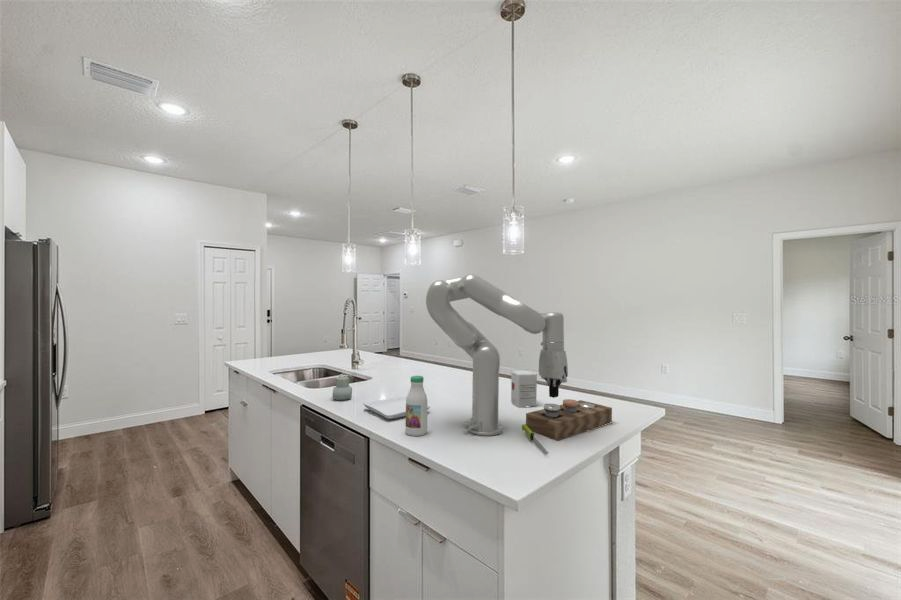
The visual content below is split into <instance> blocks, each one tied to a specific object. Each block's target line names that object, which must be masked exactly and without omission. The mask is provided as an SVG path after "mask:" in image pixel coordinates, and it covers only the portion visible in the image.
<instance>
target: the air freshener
mask: <svg viewBox="0 0 901 600" xmlns="http://www.w3.org/2000/svg"><path fill="white" fill-rule="evenodd" d="M335 379H336V380H335V383H336V384H335V387H333V389H332V398H333V399H334V400H336V401H348V400H350V399H351V398H352V396H353V387H352V386H351V385H350V378H349V377H348V376H339V377H337V378H335Z"/></svg>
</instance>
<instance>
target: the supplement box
mask: <svg viewBox="0 0 901 600" xmlns="http://www.w3.org/2000/svg"><path fill="white" fill-rule="evenodd" d="M510 377H511V380H510V381H511V383H510V384H511V385H510V386H511V387H510V389H511V390H510V391H511V393H510V394H511V396H510V402H512V403H513V404H512V403H511V404H512V405H514V404H515V405H516V407H517V406H518V407H524V408H527V407H526V406H536V407H537V388H538V386H537V385H538V383H537V382H538V381H537V380H538V379H537V378H538V375H537V373H535V372H533V371H530V370H511V376H510ZM515 405H514V406H515ZM518 407H517V408H518Z"/></svg>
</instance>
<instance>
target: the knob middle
mask: <svg viewBox="0 0 901 600" xmlns="http://www.w3.org/2000/svg"><path fill="white" fill-rule="evenodd" d="M578 401H579V400H575V399H563V400H562V405H564V412H568V413H571V414H574V413H577V407H578Z"/></svg>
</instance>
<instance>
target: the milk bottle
mask: <svg viewBox="0 0 901 600" xmlns="http://www.w3.org/2000/svg"><path fill="white" fill-rule="evenodd" d="M424 379H425V377H424V376H422V375H412V376H411V377H410V387H409V391H408V393H407V396H406V397H407V399H406V416H405V434H407V435H408V436H413V437H417V436H418V437H419V436H420V437H421V436H424V435H426V434H427V432H428V410H427V405H428V397H427V394H426V391H425V388H424Z"/></svg>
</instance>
